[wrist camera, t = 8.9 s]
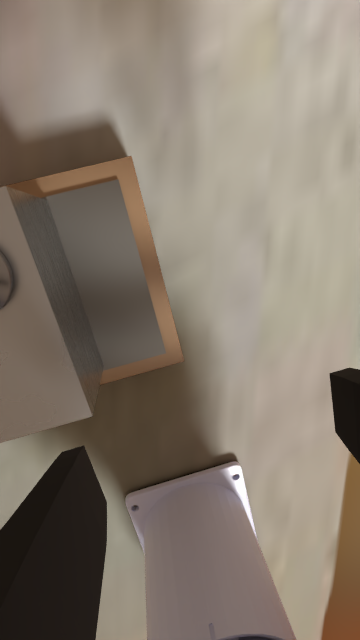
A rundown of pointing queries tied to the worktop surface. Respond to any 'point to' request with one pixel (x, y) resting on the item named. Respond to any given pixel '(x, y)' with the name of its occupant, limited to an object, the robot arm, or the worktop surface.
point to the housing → (41, 325)
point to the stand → (113, 264)
